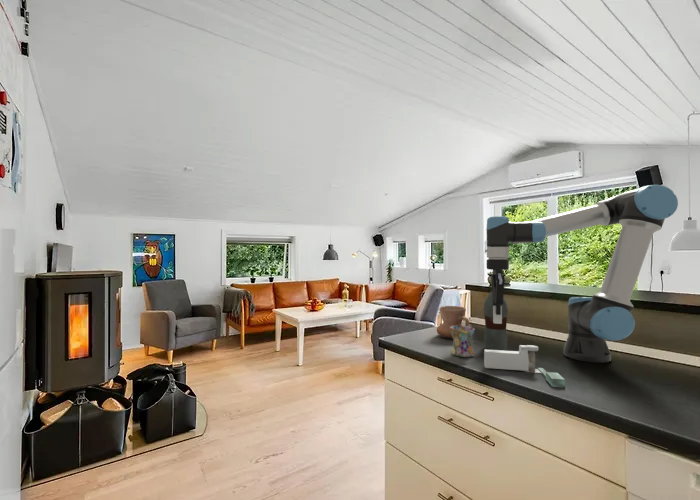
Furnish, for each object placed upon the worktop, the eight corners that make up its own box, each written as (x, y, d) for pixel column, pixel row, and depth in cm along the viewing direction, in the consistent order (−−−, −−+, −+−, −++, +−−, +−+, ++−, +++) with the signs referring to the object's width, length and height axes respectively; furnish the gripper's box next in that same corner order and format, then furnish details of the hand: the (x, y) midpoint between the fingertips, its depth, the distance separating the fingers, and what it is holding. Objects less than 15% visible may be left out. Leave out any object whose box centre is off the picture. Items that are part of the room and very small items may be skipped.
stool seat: (537, 359, 131) (537, 341, 131) (564, 387, 104) (564, 364, 104) (490, 356, 135) (490, 338, 135) (505, 382, 108) (505, 360, 108)
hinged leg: (536, 368, 120) (536, 345, 120) (540, 372, 116) (539, 348, 116) (484, 364, 124) (483, 342, 124) (485, 368, 120) (485, 345, 120)
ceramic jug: (428, 335, 171) (428, 306, 170) (450, 331, 177) (450, 303, 177) (455, 344, 155) (456, 312, 154) (479, 340, 162) (479, 309, 161)
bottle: (479, 348, 146) (479, 277, 147) (491, 345, 152) (490, 276, 152) (501, 353, 139) (500, 278, 139) (512, 349, 145) (511, 277, 145)
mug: (480, 357, 134) (480, 329, 134) (459, 359, 131) (459, 331, 131) (461, 349, 145) (461, 323, 146) (441, 351, 143) (441, 325, 143)
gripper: (484, 258, 135) (484, 319, 135) (489, 258, 123) (489, 326, 122) (504, 258, 134) (504, 320, 133) (512, 259, 121) (512, 327, 121)
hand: (497, 323), depth 128 cm, fingers closed
